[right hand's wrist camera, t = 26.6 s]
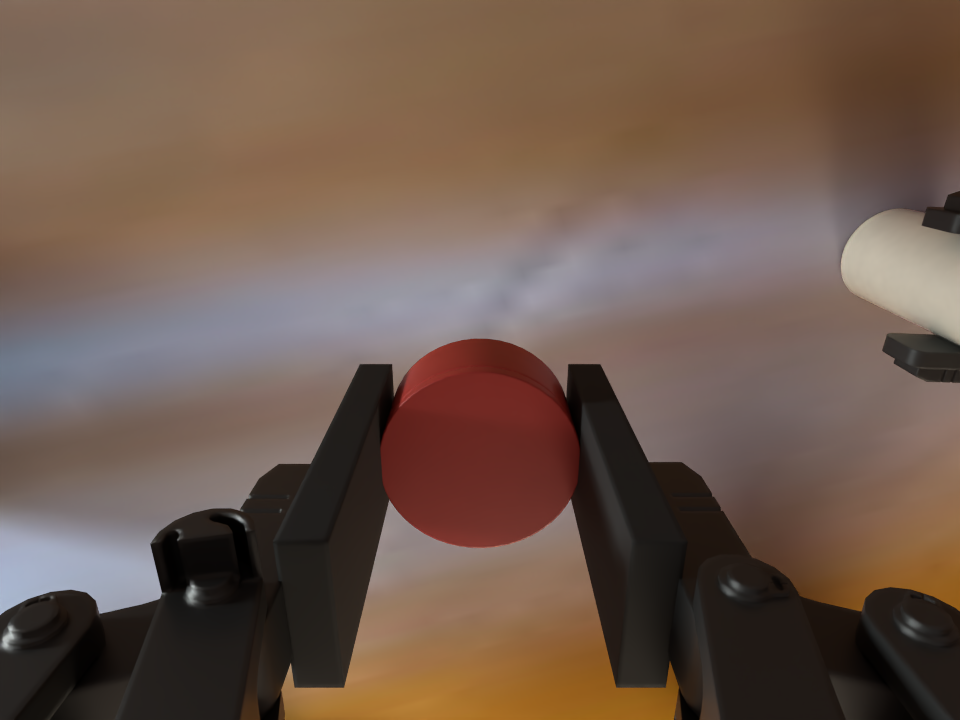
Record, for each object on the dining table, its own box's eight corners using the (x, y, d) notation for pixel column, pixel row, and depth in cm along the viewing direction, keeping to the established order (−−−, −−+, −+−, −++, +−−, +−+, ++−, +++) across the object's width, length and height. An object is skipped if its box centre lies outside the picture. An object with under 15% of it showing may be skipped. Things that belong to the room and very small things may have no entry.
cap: (603, 429, 15) (622, 476, 13) (470, 524, 16) (469, 579, 14) (490, 300, 14) (492, 329, 12) (354, 411, 15) (335, 455, 13)
